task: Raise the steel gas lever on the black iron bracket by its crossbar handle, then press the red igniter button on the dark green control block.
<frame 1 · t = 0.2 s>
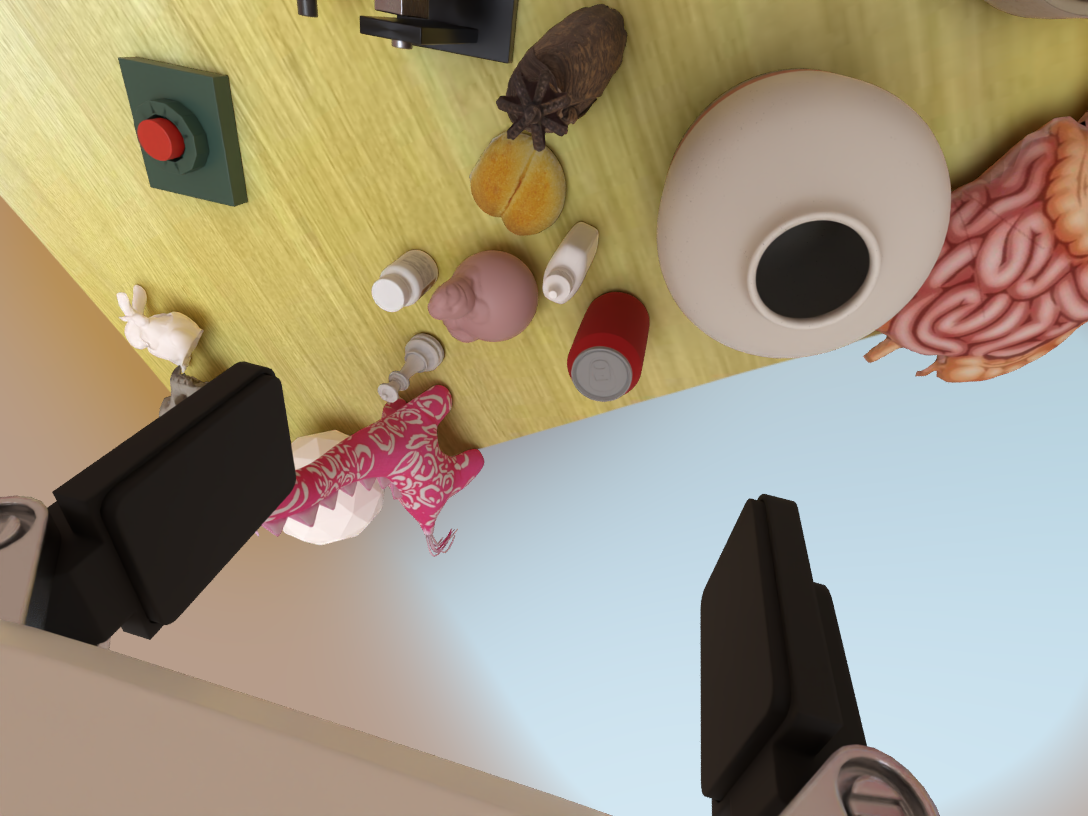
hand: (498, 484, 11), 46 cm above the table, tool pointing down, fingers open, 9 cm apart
lever bracket: (459, 2, 46), on the table
pill bottle: (420, 268, 61), on the table
eye dropper bottle: (578, 248, 55), on the table
figurine: (498, 285, 60), on the table
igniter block: (195, 133, 58), on the table
beverage can: (617, 318, 59), on the table
vase: (767, 179, 48), on the table
geometric shape: (378, 461, 72), point 5 cm above the table
toy: (435, 417, 72), on the table
skull: (245, 360, 77), on the table, touching rabbit figurine
rabbit figurine: (199, 343, 72), point 1 cm above the table, touching skull
igniter button: (161, 139, 54), point 4 cm above the table, slide at 0.1 cm
anatomical model: (861, 358, 51), point 4 cm above the table
chess piece: (428, 348, 66), on the table
bread roll: (521, 182, 53), on the table
statue: (581, 69, 47), on the table
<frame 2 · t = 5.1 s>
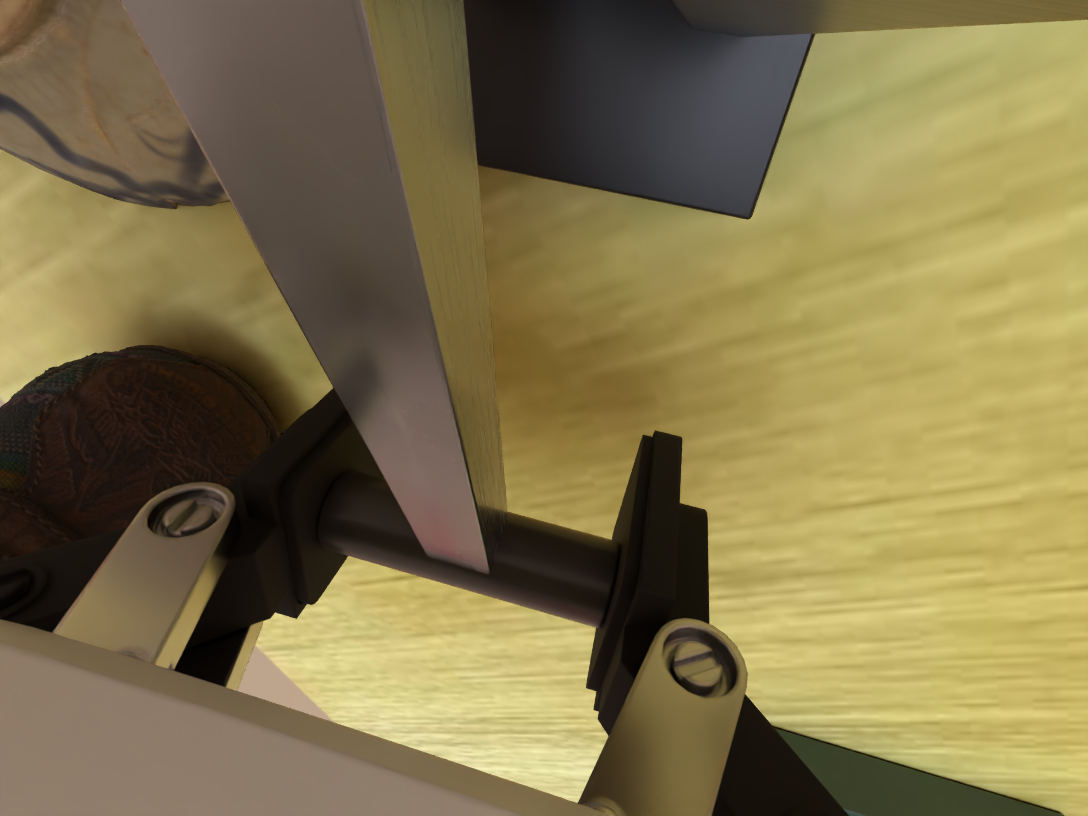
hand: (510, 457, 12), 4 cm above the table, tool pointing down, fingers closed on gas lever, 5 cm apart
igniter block: (833, 814, 24), on the table
gas lever: (410, 339, 5), point 9 cm above the table, hinge at -25.0°, touching gripper
mate gourd: (220, 409, 19), on the table
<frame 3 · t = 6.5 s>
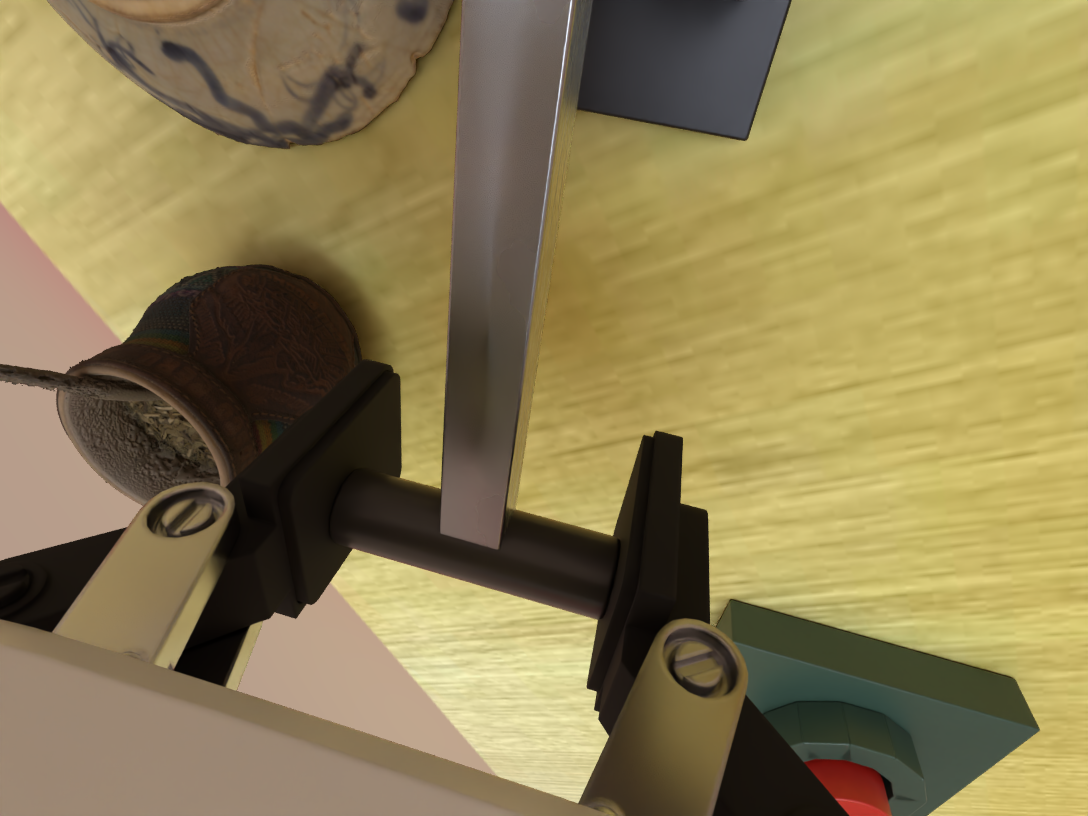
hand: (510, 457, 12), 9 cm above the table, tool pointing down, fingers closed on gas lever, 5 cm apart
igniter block: (820, 697, 27), on the table
gas lever: (508, 216, 7), point 11 cm above the table, hinge at -0.1°, touching gripper
igniter button: (839, 798, 23), point 4 cm above the table, slide at 0.1 cm
mate gourd: (303, 328, 23), on the table
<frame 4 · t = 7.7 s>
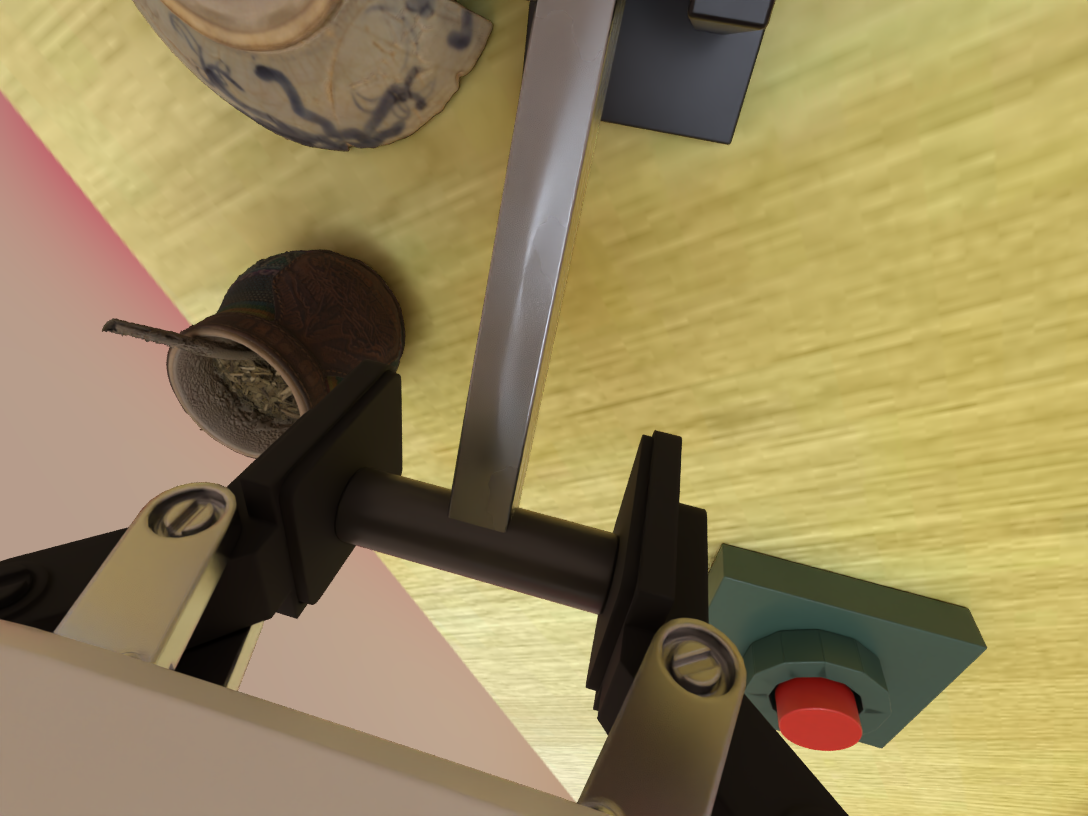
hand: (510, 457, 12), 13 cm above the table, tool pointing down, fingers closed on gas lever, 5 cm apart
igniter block: (802, 632, 31), on the table
gas lever: (542, 209, 9), point 13 cm above the table, hinge at 19.2°, touching gripper
igniter button: (816, 712, 27), point 4 cm above the table, slide at 0.1 cm
mate gourd: (351, 306, 26), on the table
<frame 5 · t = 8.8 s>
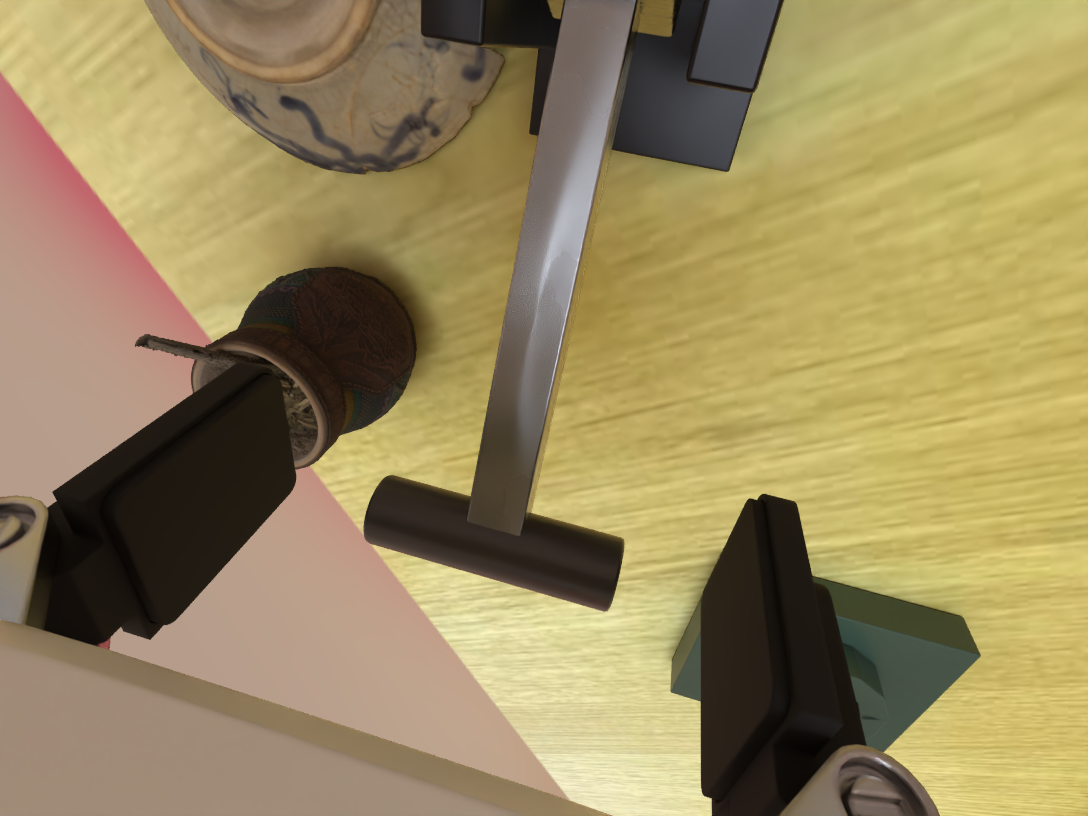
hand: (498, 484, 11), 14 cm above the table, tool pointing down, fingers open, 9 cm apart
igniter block: (801, 640, 31), on the table
gas lever: (555, 244, 10), point 13 cm above the table, hinge at 18.9°
mate gourd: (364, 320, 27), on the table
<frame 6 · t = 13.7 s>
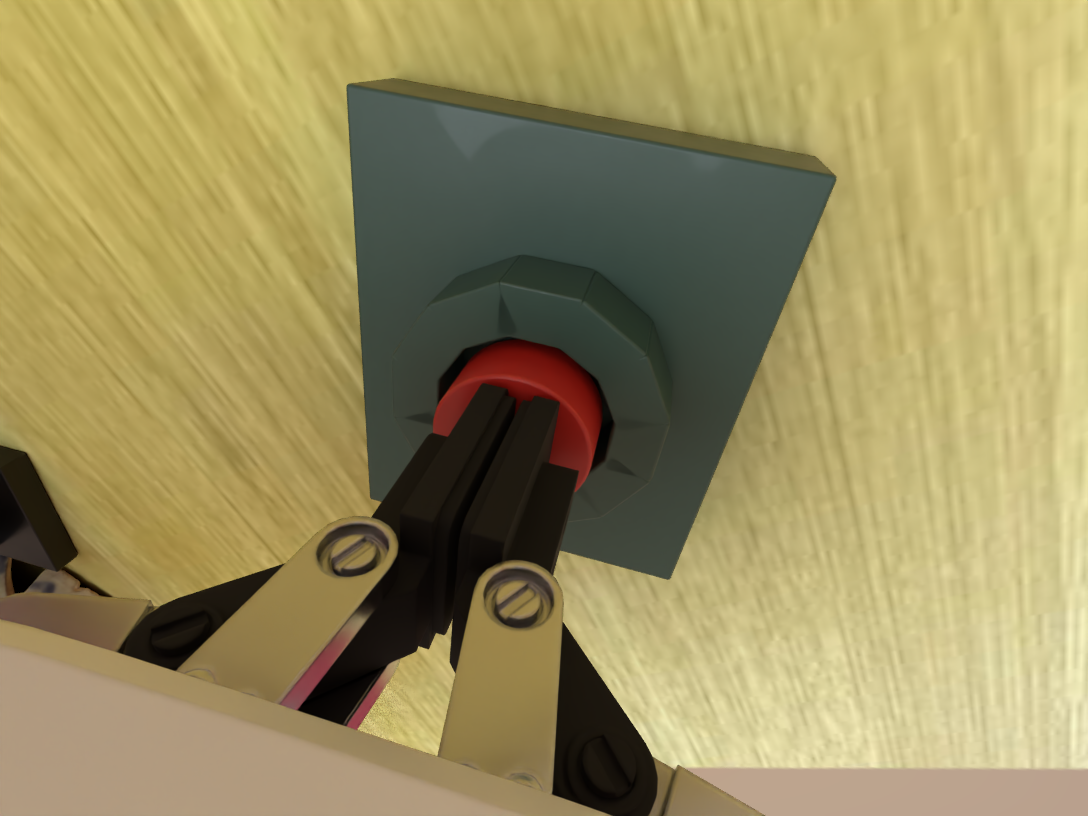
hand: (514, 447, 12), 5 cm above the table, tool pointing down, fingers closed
decorative bowl: (62, 622, 35), on the table
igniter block: (557, 344, 16), on the table
igniter button: (520, 425, 13), point 4 cm above the table, slide at -0.2 cm, touching gripper
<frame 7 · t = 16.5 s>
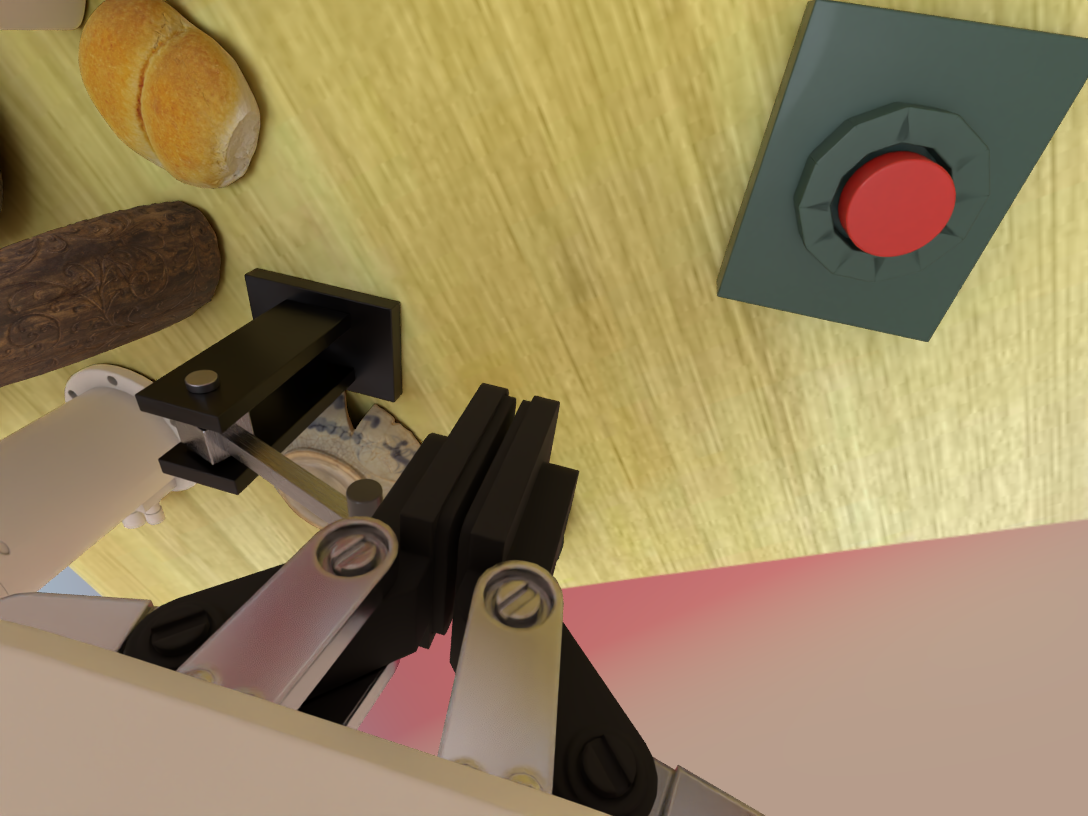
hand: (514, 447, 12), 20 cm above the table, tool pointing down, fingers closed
decorative bowl: (351, 465, 44), on the table
lever bracket: (332, 333, 37), on the table
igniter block: (867, 180, 25), on the table
gas lever: (280, 471, 27), point 13 cm above the table, hinge at 18.9°
igniter button: (893, 204, 22), point 4 cm above the table, slide at 0.1 cm
bread roll: (196, 96, 31), on the table
statue: (178, 254, 37), on the table
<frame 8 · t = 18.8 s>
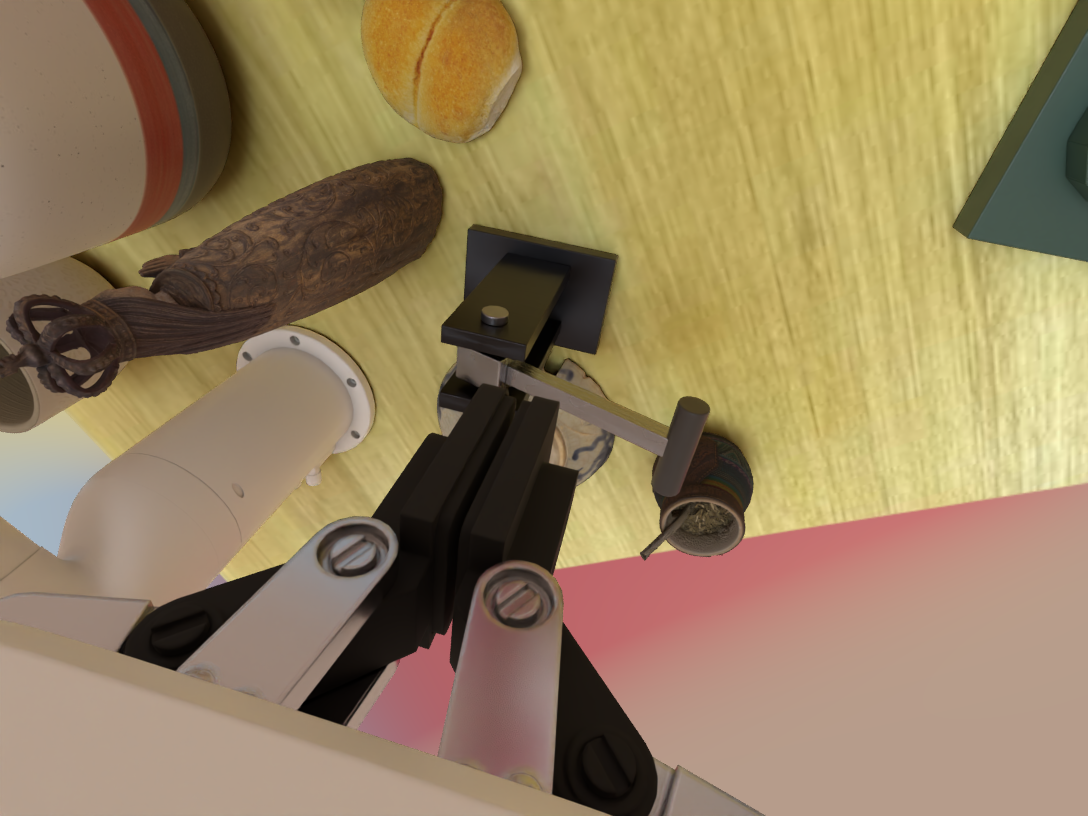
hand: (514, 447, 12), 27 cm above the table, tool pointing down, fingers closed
decorative bowl: (524, 422, 46), on the table
lever bracket: (538, 287, 39), on the table
vase: (144, 79, 37), on the table
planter: (93, 305, 50), on the table
gas lever: (572, 399, 28), point 13 cm above the table, hinge at 18.9°
mate gourd: (699, 456, 44), on the table
bread roll: (452, 53, 33), on the table
statue: (392, 212, 39), on the table
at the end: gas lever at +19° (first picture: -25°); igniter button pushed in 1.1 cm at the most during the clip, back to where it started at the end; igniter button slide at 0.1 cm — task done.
